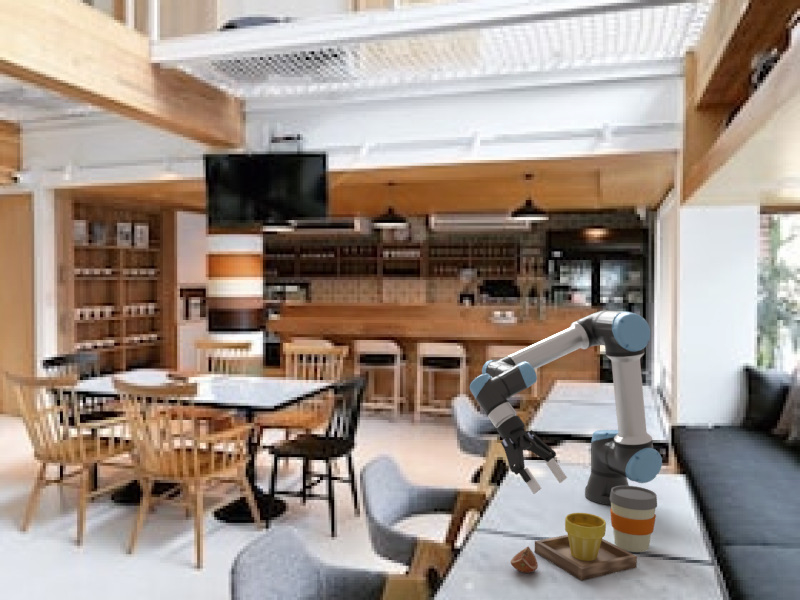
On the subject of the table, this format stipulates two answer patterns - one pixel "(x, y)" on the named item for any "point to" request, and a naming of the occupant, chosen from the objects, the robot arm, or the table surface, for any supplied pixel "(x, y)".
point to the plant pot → (585, 535)
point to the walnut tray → (604, 564)
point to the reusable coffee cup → (632, 517)
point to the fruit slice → (525, 561)
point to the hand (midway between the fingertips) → (551, 485)
